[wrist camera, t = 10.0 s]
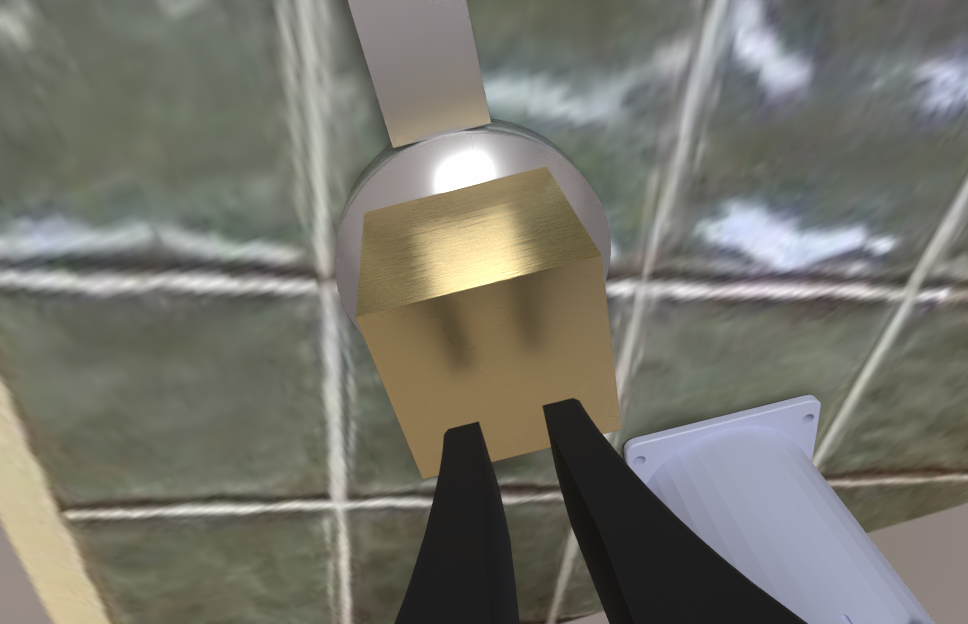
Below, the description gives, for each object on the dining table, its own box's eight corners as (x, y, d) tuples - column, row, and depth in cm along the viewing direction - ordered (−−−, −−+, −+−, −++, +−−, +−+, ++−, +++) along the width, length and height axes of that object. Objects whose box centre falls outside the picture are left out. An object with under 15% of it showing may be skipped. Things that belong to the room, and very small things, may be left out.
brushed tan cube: (570, 315, 19) (621, 429, 15) (415, 354, 19) (422, 479, 15) (546, 165, 16) (601, 255, 12) (364, 212, 16) (355, 317, 12)
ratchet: (607, 318, 21) (654, 406, 17) (385, 373, 21) (383, 473, 17) (466, -924, 8) (528, -1577, 5) (-81, -775, 8) (-446, -1305, 5)
